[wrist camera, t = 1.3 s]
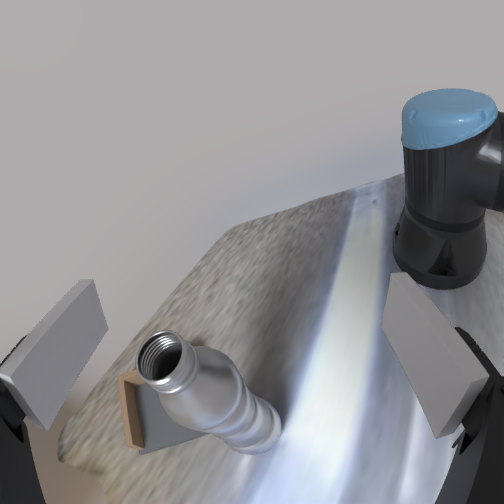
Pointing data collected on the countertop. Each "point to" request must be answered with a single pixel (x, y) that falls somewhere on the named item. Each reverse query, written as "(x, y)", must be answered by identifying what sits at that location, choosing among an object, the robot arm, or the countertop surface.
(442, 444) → the countertop surface
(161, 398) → the silver metal bottle
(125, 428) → the tray
